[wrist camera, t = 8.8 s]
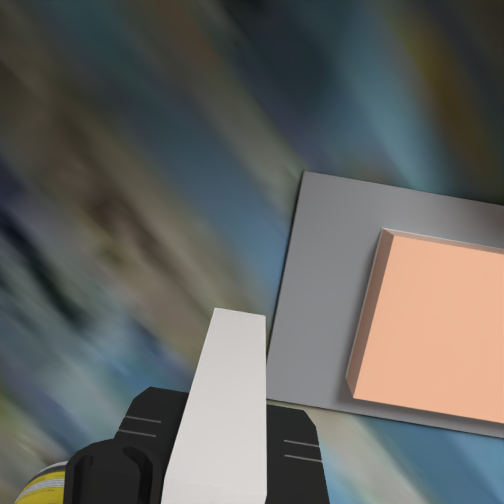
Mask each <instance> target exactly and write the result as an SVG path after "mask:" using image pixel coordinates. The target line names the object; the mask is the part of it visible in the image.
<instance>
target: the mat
mask: <svg viewBox="0 0 504 504" xmlns="http://www.w3.org/2000/svg"><path fill="white" fill-rule="evenodd" d="M381 228H386V229H392V230H398V231H403V232H409V233H415V234H421V235H426V236H432V237H438V238H444V239H449V240H455V241H461V242H466V243H472V244H478V245H484V246H489V247H495V248H501V249H504V206H502V205H497V204H491V203H485V202H480V201H474V200H468V199H463V198H457V197H451V196H446V195H440V194H434V193H429V192H423V191H417V190H412V189H406V188H400V187H395V186H389V185H383V184H378V183H372V182H366V181H361V180H355V179H349V178H343V177H338V176H332V175H326V174H321V173H315V172H309V171H303V176H302V181H301V186H300V191H299V196H298V201H297V206H296V211H295V217H294V222H293V227H292V232H291V237H290V242H289V247H288V252H287V257H286V262H285V268H284V273H283V278H282V283H281V288H280V293H279V298H278V303H277V308H276V313H275V319H274V324H273V329H272V334H271V339H270V344H269V349H268V354H267V359H266V398H267V399H273V400H279V401H285V402H291V403H297V404H303V405H309V406H315V407H321V408H327V409H333V410H339V411H345V412H351V413H357V414H363V415H369V416H375V417H381V418H387V419H393V420H399V421H405V422H411V423H417V424H423V425H429V426H435V427H441V428H447V429H453V430H459V431H465V432H471V433H477V434H483V435H489V436H495V437H501V438H504V423H499V422H493V421H487V420H481V419H475V418H469V417H463V416H457V415H451V414H445V413H440V412H434V411H428V410H422V409H416V408H410V407H404V406H398V405H392V404H386V403H380V402H374V401H368V400H362V399H356V398H353V396H352V394H351V391H350V388H349V386H348V383H347V380H346V377H345V375H346V371H347V367H348V363H349V359H350V355H351V351H352V347H353V343H354V339H355V335H356V330H357V326H358V322H359V318H360V314H361V310H362V306H363V302H364V298H365V294H366V290H367V286H368V281H369V277H370V273H371V269H372V265H373V261H374V257H375V253H376V249H377V245H378V241H379V236H380V232H381Z"/></svg>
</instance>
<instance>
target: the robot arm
mask: <svg viewBox="0 0 504 504" xmlns="http://www.w3.org/2000/svg"><path fill="white" fill-rule="evenodd" d="M321 460H322V458H321V453H320V448H319V442H318V436H317V431H316V426H315V425H314V424H313V422H312V421H311V419H310V418H309V417H308V415H307V414H306V412H305V411H304V410H298V409H292V408H286V407H280V406H274V405H268V404H266V332H265V316H263V315H257V314H251V313H245V312H239V311H233V310H227V309H221V308H215V309H214V312H213V316H212V319H211V323H210V326H209V329H208V333H207V336H206V339H205V343H204V346H203V350H202V353H201V356H200V360H199V363H198V366H197V370H196V373H195V377H194V380H193V383H192V387H191V390H190V393H185V392H179V391H173V390H167V389H161V388H155V387H149V388H147V389H146V390H145V391H143V392H142V393H141V394H139V395H138V396H137V397H135V398H134V399H133V401H132V403H131V405H130V407H129V409H128V411H127V413H126V416H125V418H124V419H123V421H122V423H121V425H120V427H119V430H118V432H117V433H116V435H115V437H114V439H109V440H104V441H100V442H96V443H92V444H91V445H89V446H87V447H85V448H83V449H81V450H80V451H78V452H76V454H75V455H74V456H73V457H72V458H71V459H70V460H69V461H68V462H67V463H66V465H65V480H64V494H63V504H330V502H329V497H328V491H327V486H326V480H325V475H324V469H323V464H322V463H321Z"/></svg>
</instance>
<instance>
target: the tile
mask: <svg viewBox="0 0 504 504" xmlns="http://www.w3.org/2000/svg"><path fill="white" fill-rule="evenodd" d="M345 377H346V380H347V383H348V386H349V388H350V391H351V394H352V396H353V398H356V399H362V400H368V401H374V402H380V403H386V404H392V405H398V406H404V407H410V408H416V409H422V410H428V411H434V412H440V413H445V414H451V415H457V416H463V417H469V418H475V419H481V420H487V421H493V422H499V423H504V249H501V248H495V247H489V246H484V245H478V244H472V243H466V242H461V241H455V240H449V239H444V238H438V237H432V236H426V235H421V234H415V233H409V232H403V231H398V230H392V229H386V228H381V232H380V236H379V241H378V245H377V249H376V253H375V257H374V261H373V265H372V269H371V273H370V277H369V281H368V286H367V290H366V294H365V298H364V302H363V306H362V310H361V314H360V318H359V322H358V326H357V330H356V335H355V339H354V343H353V347H352V351H351V355H350V359H349V363H348V367H347V371H346V375H345Z"/></svg>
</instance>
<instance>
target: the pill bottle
mask: <svg viewBox="0 0 504 504" xmlns="http://www.w3.org/2000/svg"><path fill="white" fill-rule="evenodd" d="M67 462H68V461H64V462H59V463H56V464H53V465H50V466H48V467H46V468H44V469H43V470H41V471H40V472H39V473H37V474H36V475H35V476H34V477H33V478H32V479H31V480H30V481H29V483H28V484H27V485H26V487H25V488H24V489H23V491H22V492H21V494H20V495H19V496H18V498H17V499H16V501H15V502H14V504H63V494H64V480H65V465H66V463H67Z"/></svg>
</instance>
